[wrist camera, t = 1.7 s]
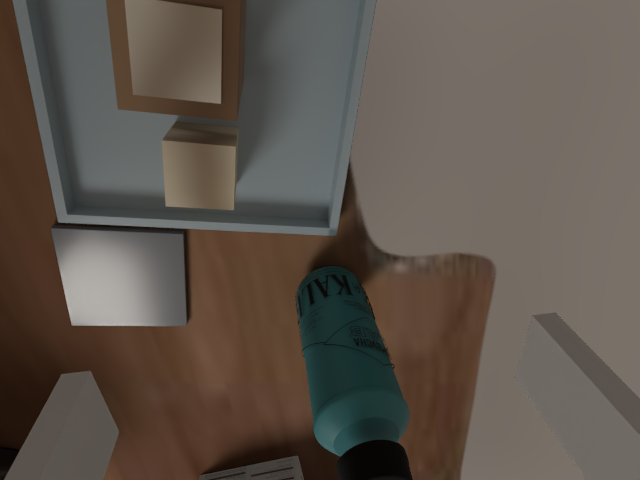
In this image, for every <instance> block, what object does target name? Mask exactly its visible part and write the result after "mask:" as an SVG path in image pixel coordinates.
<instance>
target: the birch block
mask: <svg viewBox="0 0 640 480" xmlns="http://www.w3.org/2000/svg"><path fill="white" fill-rule="evenodd" d="M238 131H239V127H228V126H218V125H207V124H197V123H186V122H175V123H174V124H173V126H172V127H171V128H170V130H169V131H168V132H167V134H166V135H165V136H164V138H163V139H162V154H163V170H164V187H165V204H166V206H168V207H185V208H203V209H220V210H234V205H235V196H236V186H237V162H238Z"/></svg>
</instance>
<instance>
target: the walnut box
mask: <svg viewBox="0 0 640 480" xmlns="http://www.w3.org/2000/svg"><path fill="white" fill-rule="evenodd" d="M246 3H247V1H246V0H106V6H107V15H108V25H109V34H110V43H111V52H112V61H113V70H114V79H115V89H116V98H117V107H118V110H128V111H138V112H149V113H159V114H169V115H179V116H189V117H199V118H209V119H219V120H230V121H237V118H238V112H239V106H240V100H241V94H242V89H243V83H244V59H245V31H246Z"/></svg>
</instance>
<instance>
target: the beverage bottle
mask: <svg viewBox="0 0 640 480" xmlns="http://www.w3.org/2000/svg"><path fill="white" fill-rule="evenodd" d="M360 281H361V280H358V278H357V277H356V276H355V274H353V273H352V272H350V271H349V270H347V269H344V268H342V267H336V266H329V267H323V268H320V269H317V270H315V271H313V272H311V273H310V274H309V275H307V276H306V277H305V278H304V279H303V281H302V282H301V284H300V286H299V289H298V292H296V293H297V296H295V297H297V302H296V308H297V305H298V308H297V310H298V311H297V312H298V313H299V316H298V317H299V321H300V324H299V321H298V324H299V325H300V326H299V327H300V329H301V332H300V333H301V335H300V336H301V337H302V340H301V341H302V345H303V348H302V349H303V350H302V351H303V353H304V356H303V355H302V356H303V357H304V358H305V363H306V370H307V378H308V385H309V392H310V399H311V407H312V414H313V429H314V434H315V437H316V439H317V441H318V442H319V443H320V444H321V445H322V446H323V447H324V448H325V449H327V450H328V451H330V452H332V453H334V454H336V455H338V456H340V459H339V460H338V463H337V474H338V478H339V480H413V479H412V476H411V472H410V468H409V462H408V458H407V455H406V452H405V449H404V448H403V447H402V446H401V445H400V444H399V443H397V442H398V441H399V439H400V438H401V436H402V435H403V433H404V432H405V430H406V428H407V425H408V422H409V417H410V416H409V409H408V405H407V403H406V401H405V400H404V398H403V395H402V393H401V390H400V387H399V385H398V382H397V379H396V376H395V374H394V370H393V369H394V367H395V366H394V367H392V365H394V364H391V362H390V359H389V357H391V356H389V355H390V354H389V355H388V353H389V352H388V351H386V350H388V348H387V349H386V348H385V346H384V343H383V341H385V340H384V339H383V341H382V338H381V336H380V333H379V330H378V328H377V325H376V322H375V317H374V316H375V315H374V314H373V311H372V310H373V309H372V307H371V305H370V302H369V304H368V301H369V299H368V297H367V296H365V295H366V292H364V290H363V288H362V286H361V283H360ZM363 287H364V286H363ZM364 293H365V294H364ZM367 299H368V301H367ZM370 308H371V309H370ZM371 311H372V312H371ZM372 314H373V315H372ZM297 315H298V314H297ZM297 320H298V319H297ZM381 335H382V334H381ZM385 345H386V344H385ZM387 352H388V353H387ZM301 354H302V352H301ZM388 356H389V357H388ZM392 362H393V361H392Z"/></svg>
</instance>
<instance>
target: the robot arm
mask: <svg viewBox="0 0 640 480" xmlns="http://www.w3.org/2000/svg"><path fill="white" fill-rule="evenodd" d="M514 378H515V379H516V380H517V382H518V383H519V385H520V386H521V388H522V389H523V390H524V392H525V393H526V395H527V396H528V398H529V399H530V401H531V402H532V403H533V405H534V406H535V408H536V409H537V411H538V412H539V414H540V415H541V416H542V418H543V419H544V421H545V422H546V423H547V425H548V426H549V428H550V429H551V431H552V432H553V433H554V435H555V437H556V438H557V439H558V441H559V442H560V444H561V445H562V447H563V448H564V449H565V451H566V452H567V454H568V455H569V457H570V458H571V460H572V461H573V462H574V464H575V465H576V467H577V468H578V470H579V471H580V472H581V474H582V475H583V477H584V478H585V480H640V398H638V396H637V395H636V394H635V393H634V392H633V391H632V390H631V389H630V388H629V387H628V386H627V385H626V384H625V383H624V382H622V380H621V379H620V378H619V377H618V376H617V375H616V374H615V373H614V372H613V371H612V370H611V369H610V368H609V367H608V366H607V365H606V364H605V363H604V362H603V361H602V360H601V359H600V358H599V357H598V356H597V355H596V353H594V351H593V350H591V348H590V347H589V346H588V345H586V343H585V342H584V341H583V340H582V339H581V338H580V337H579V336H578V335H577V334H576V333H575V332H574V331H573V330H572V329H571V328H570V327H569V326H568V325H567V324H566V323H565V322H564V321H563V320H562V319H561V318H560V317H559V316H558V315H557V314H556V313H548V314H540V315H533V316H532V318H531V322H530V325H529V328H528V331H527V335H526V338H525V341H524V345H523V348H522V351H521V355H520V358H519V361H518V365H517V368H516V371H515V375H514ZM118 434H119V430H118V428H117V426H116V424H115V422H114V419H113V417H112V415H111V413H110V411H109V409H108V407H107V405H106V403H105V400H104V398H103V396H102V394H101V392H100V390H99V388H98V386H97V384H96V382H95V379H94V377H93V375H92V373H91V371H83V372H75V373H67V374H61V376H60V378H59V380H58V382H57V383H56V385H55V387H54V389H53V391H52V393H51V394H50V396H49V398H48V400H47V402H46V404H45V405H44V407H43V409H42V411H41V413H40V415H39V416H38V418H37V420H36V422H35V424H34V426H33V427H32V429H31V431H30V433H29V435H28V437H27V438H26V440H25V442H24V444H23V446H22V448H21V449H20V451H15V450H9V449H2V448H0V480H103V479H104V476H105V473H106V470H107V467H108V464H109V461H110V458H111V455H112V452H113V449H114V446H115V443H116V440H117V437H118Z"/></svg>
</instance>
